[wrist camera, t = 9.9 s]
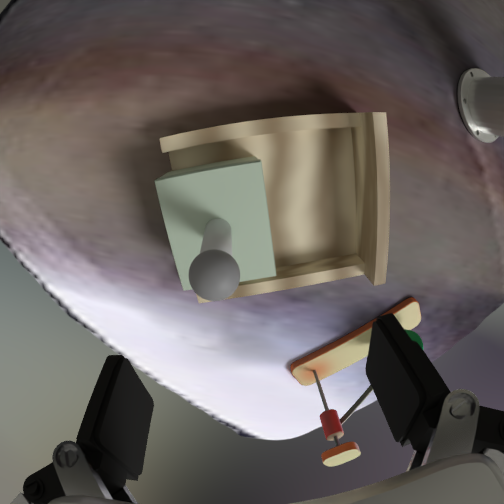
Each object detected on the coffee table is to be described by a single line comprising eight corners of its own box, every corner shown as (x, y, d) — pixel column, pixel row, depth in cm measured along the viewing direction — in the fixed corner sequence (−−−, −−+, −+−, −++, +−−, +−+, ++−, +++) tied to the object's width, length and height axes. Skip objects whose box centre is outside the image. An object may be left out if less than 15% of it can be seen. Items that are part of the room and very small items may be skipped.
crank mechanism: (302, 382, 49) (325, 471, 32) (287, 364, 46) (310, 462, 29) (418, 318, 45) (473, 390, 28) (413, 294, 43) (477, 369, 25)
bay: (357, 113, 30) (385, 112, 24) (363, 258, 39) (385, 283, 32) (167, 137, 30) (151, 139, 24) (201, 286, 38) (197, 317, 32)
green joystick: (255, 154, 31) (282, 181, 16) (269, 253, 36) (297, 344, 21) (166, 171, 31) (111, 213, 16) (189, 266, 36) (167, 361, 21)
